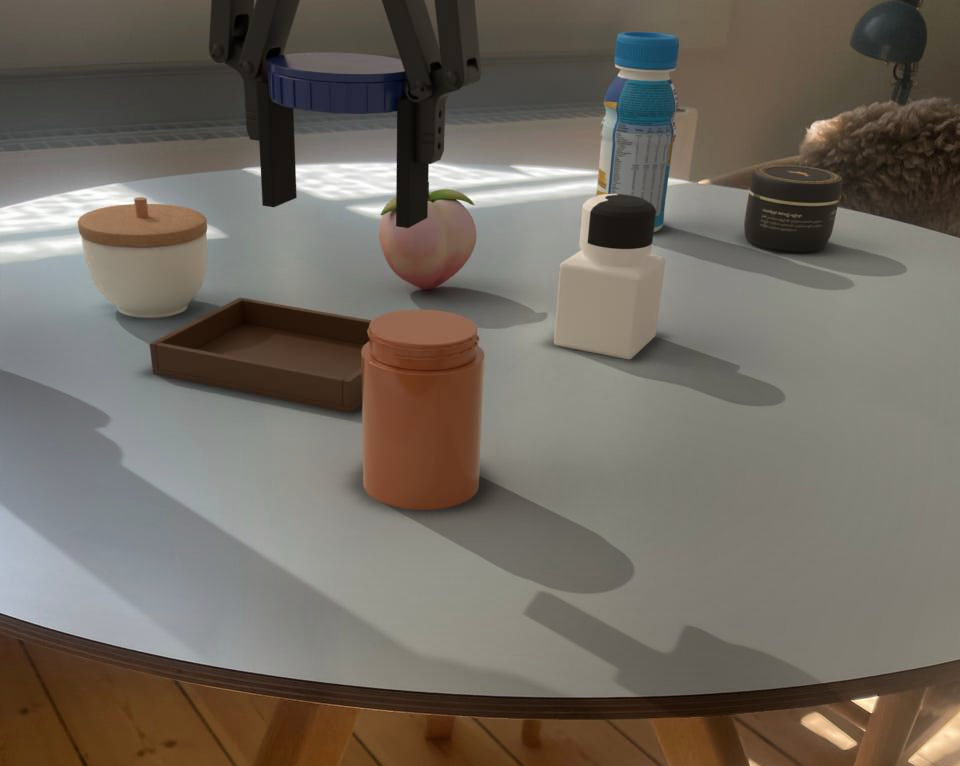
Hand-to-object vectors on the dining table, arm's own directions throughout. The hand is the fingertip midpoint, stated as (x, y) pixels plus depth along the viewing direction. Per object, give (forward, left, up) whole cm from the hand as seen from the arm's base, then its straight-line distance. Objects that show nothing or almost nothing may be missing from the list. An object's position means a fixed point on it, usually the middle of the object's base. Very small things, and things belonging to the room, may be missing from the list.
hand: (344, 211), depth 67 cm
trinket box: (-32, +23, -17) cm, 43 cm away
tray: (-14, +16, -17) cm, 27 cm away
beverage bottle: (-2, +74, -17) cm, 77 cm away
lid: (0, 0, +7) cm, 7 cm away
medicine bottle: (+7, +34, -17) cm, 39 cm away
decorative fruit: (-13, +40, -17) cm, 46 cm away
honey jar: (+4, +1, -17) cm, 18 cm away
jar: (+16, +76, -17) cm, 80 cm away
